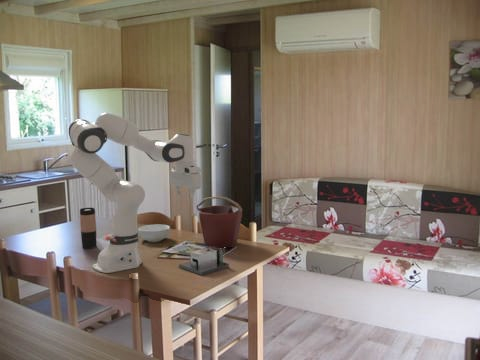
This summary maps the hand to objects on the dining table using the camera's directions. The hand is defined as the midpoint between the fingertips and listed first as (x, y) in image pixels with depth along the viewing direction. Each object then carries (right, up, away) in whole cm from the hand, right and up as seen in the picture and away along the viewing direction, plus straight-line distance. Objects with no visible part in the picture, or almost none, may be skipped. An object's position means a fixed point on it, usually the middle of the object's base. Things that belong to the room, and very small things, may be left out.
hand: (185, 196), depth 259 cm
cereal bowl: (-20, -25, +32) cm, 45 cm away
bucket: (+16, -26, +23) cm, 38 cm away
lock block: (+10, -30, -15) cm, 35 cm away
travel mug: (-52, -27, +21) cm, 62 cm away
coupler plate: (+10, -32, -15) cm, 37 cm away
